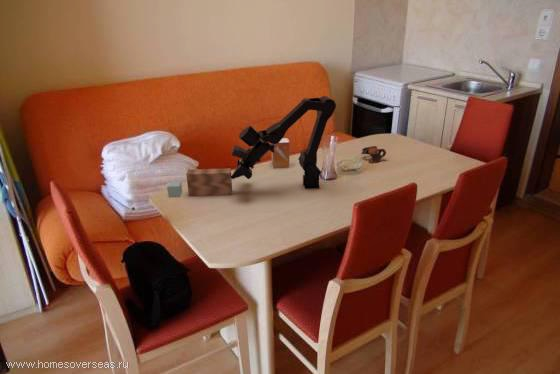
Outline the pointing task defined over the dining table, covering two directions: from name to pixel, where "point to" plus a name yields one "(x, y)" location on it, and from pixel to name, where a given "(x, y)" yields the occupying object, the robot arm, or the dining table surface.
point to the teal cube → (174, 189)
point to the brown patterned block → (209, 182)
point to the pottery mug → (374, 153)
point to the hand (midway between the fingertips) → (231, 178)
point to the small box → (281, 154)
